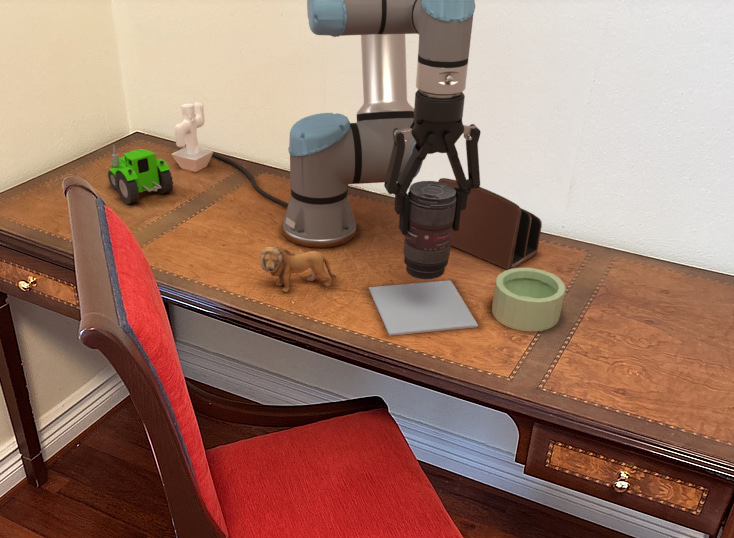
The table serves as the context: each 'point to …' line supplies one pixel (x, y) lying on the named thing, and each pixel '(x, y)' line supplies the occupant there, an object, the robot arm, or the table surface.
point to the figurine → (191, 139)
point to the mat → (421, 307)
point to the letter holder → (495, 229)
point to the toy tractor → (139, 174)
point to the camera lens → (429, 229)
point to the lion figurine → (294, 265)
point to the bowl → (528, 299)
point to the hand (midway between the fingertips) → (428, 229)
